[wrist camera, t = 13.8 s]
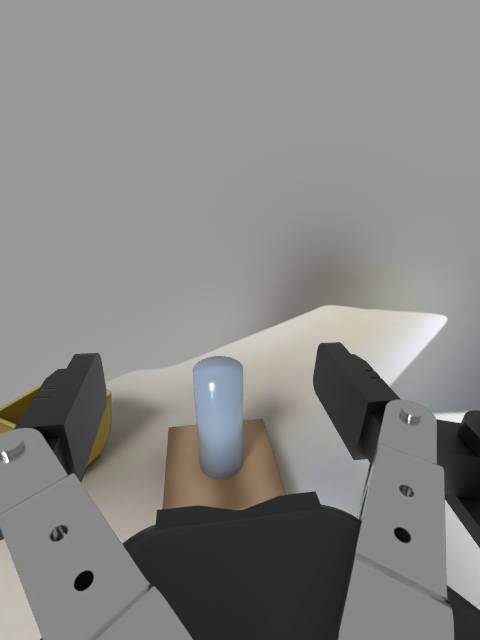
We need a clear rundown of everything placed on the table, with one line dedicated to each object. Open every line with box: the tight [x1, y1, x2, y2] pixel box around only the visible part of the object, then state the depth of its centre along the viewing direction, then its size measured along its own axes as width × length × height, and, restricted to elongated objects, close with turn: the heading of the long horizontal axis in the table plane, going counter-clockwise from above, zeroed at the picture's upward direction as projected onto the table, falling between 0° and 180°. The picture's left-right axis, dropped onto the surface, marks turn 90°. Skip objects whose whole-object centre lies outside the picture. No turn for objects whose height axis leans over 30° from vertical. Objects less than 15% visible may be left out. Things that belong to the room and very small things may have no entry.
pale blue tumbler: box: [193, 356, 243, 479], centre depth 34 cm, size 5×5×12 cm
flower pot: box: [0, 384, 111, 466], centre depth 38 cm, size 9×9×9 cm
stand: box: [163, 419, 286, 510], centre depth 37 cm, size 12×12×3 cm
